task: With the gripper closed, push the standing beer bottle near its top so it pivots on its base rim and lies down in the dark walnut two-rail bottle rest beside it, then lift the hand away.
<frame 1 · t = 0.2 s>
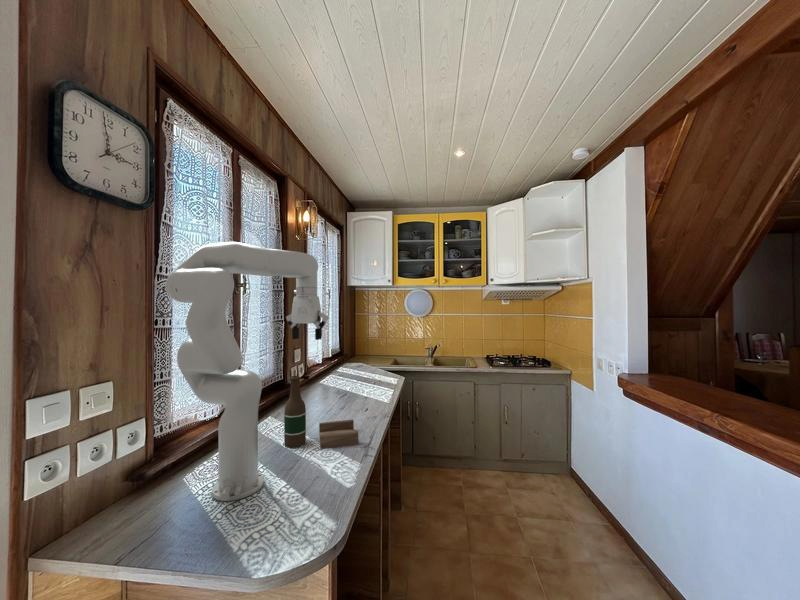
hand: (306, 339, 118), 37 cm above the kitchen counter, tool pointing down, fingers open, 9 cm apart
bottle rest: (337, 438, 118), on the kitchen counter
beer bottle: (295, 444, 114), on the kitchen counter
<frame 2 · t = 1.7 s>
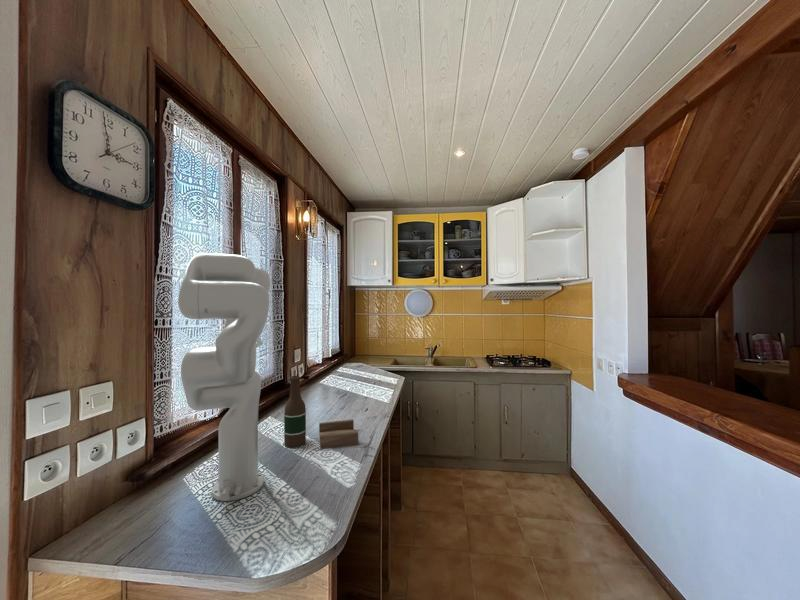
hand: (241, 364, 110), 29 cm above the kitchen counter, tool pointing down, fingers open, 3 cm apart
nothing on the kitchen counter moved.
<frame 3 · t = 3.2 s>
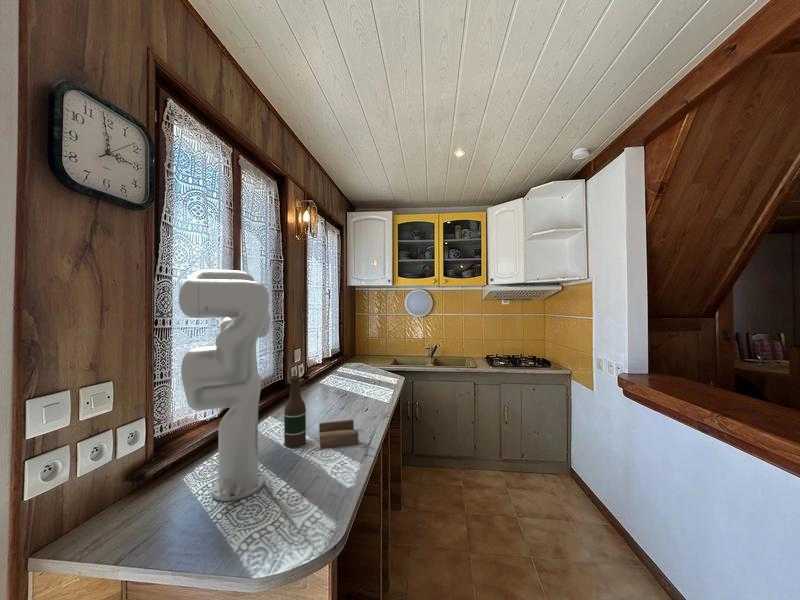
hand: (241, 404, 110), 15 cm above the kitchen counter, tool pointing down, fingers closed
nothing on the kitchen counter moved.
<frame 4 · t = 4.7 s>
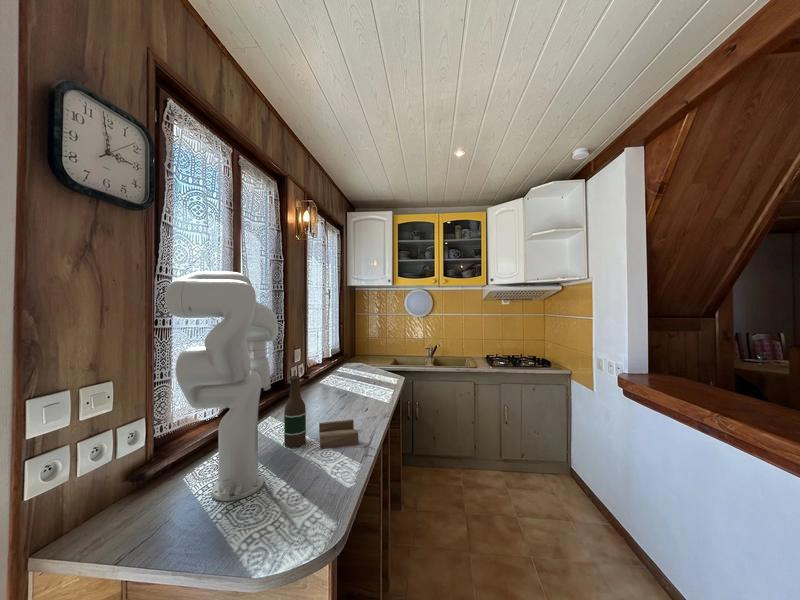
hand: (254, 407, 111), 14 cm above the kitchen counter, tool pointing down, fingers closed
nothing on the kitchen counter moved.
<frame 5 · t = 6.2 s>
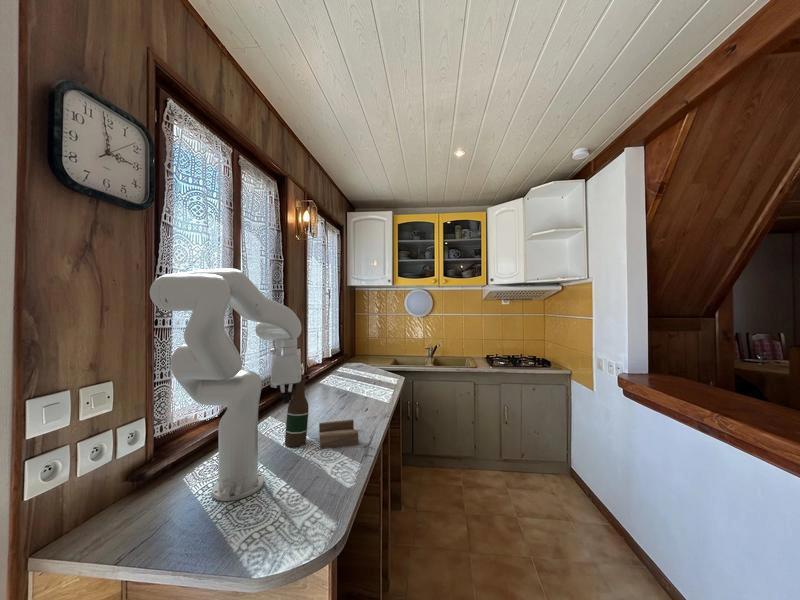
hand: (286, 402, 114), 15 cm above the kitchen counter, tool pointing down, fingers closed
beer bottle: (295, 443, 114), on the kitchen counter, touching gripper
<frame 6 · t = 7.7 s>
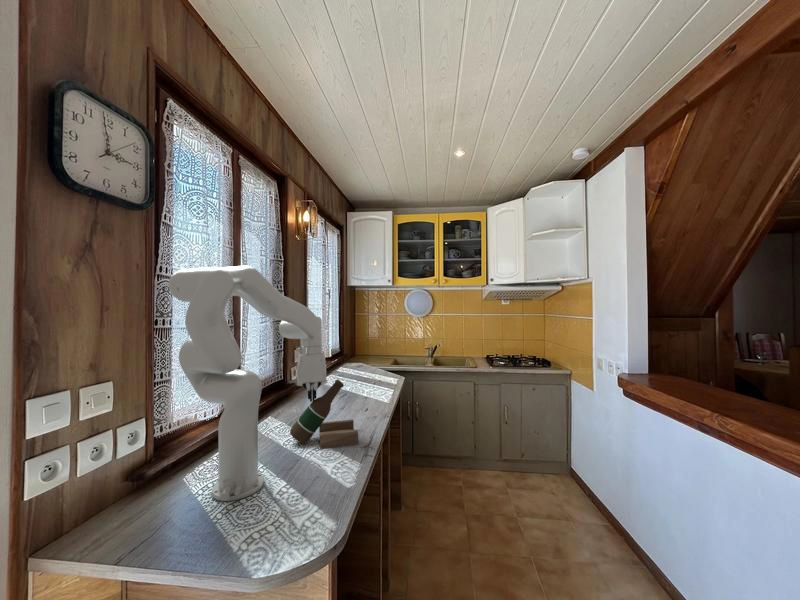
hand: (312, 400, 116), 15 cm above the kitchen counter, tool pointing down, fingers closed
beer bottle: (297, 437, 114), point 2 cm above the kitchen counter, touching gripper
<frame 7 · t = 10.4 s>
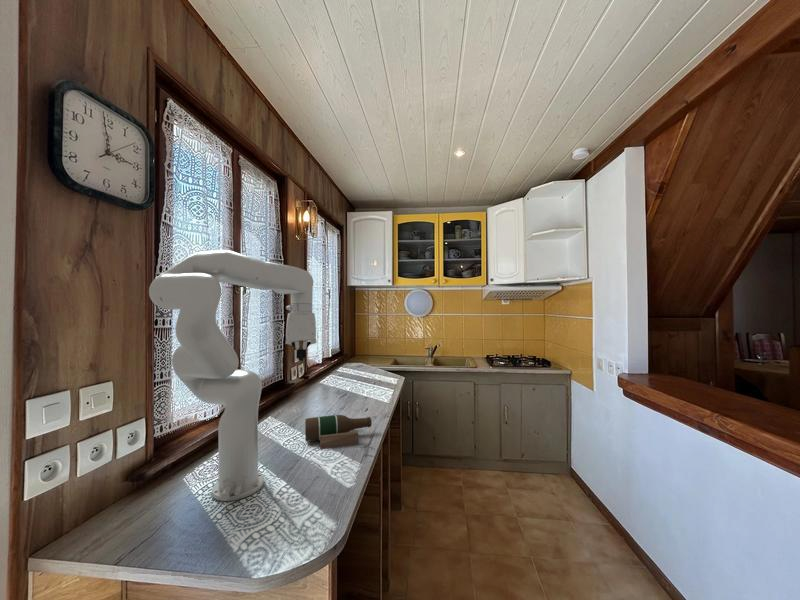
hand: (301, 360, 114), 30 cm above the kitchen counter, tool pointing down, fingers closed
beer bottle: (304, 429, 115), point 5 cm above the kitchen counter, touching bottle rest
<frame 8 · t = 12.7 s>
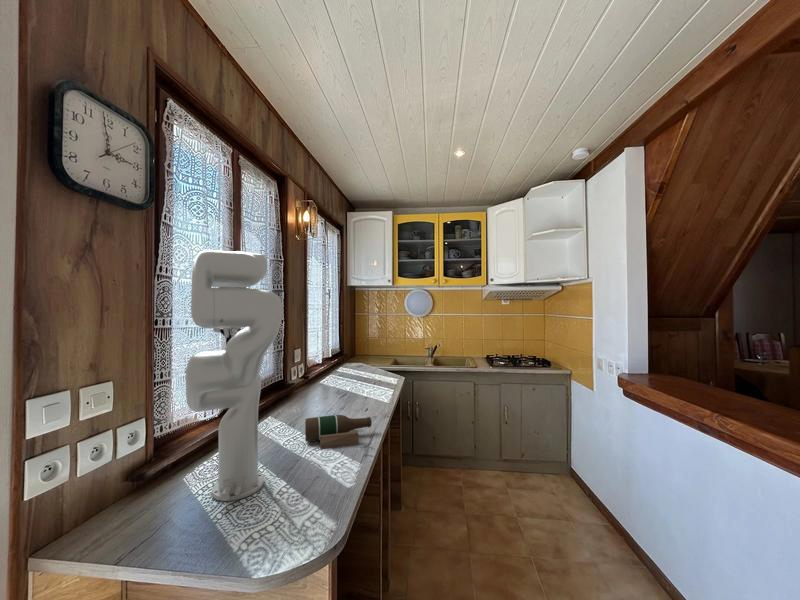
hand: (231, 349, 105), 35 cm above the kitchen counter, tool pointing down, fingers closed
nothing on the kitchen counter moved.
at the end: beer bottle tilted 90°; beer bottle touching bottle rest; beer bottle inside the target area on the kitchen counter beside the bottle rest (1.2 cm from its centre), point 4.6 cm above the kitchen counter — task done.
